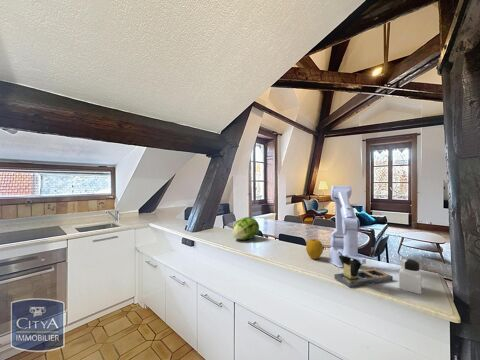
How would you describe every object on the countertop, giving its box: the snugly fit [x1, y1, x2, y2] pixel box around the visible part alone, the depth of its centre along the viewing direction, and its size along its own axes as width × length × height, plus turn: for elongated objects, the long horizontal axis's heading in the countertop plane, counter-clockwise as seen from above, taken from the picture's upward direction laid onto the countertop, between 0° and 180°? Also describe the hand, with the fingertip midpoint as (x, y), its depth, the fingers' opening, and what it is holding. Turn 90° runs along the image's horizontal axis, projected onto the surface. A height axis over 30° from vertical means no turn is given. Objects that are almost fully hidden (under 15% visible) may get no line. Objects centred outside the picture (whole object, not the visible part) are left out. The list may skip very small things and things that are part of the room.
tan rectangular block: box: [343, 262, 358, 281], centre depth 95 cm, size 4×4×7 cm
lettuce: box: [232, 216, 260, 241], centre depth 167 cm, size 18×23×19 cm
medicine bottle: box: [398, 258, 422, 295], centre depth 89 cm, size 7×7×12 cm
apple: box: [305, 238, 324, 260], centre depth 124 cm, size 10×10×12 cm
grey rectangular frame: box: [333, 268, 394, 289], centre depth 97 cm, size 9×25×2 cm, turn 107°
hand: (350, 273), depth 95 cm, fingers closed on tan rectangular block, 4 cm apart
